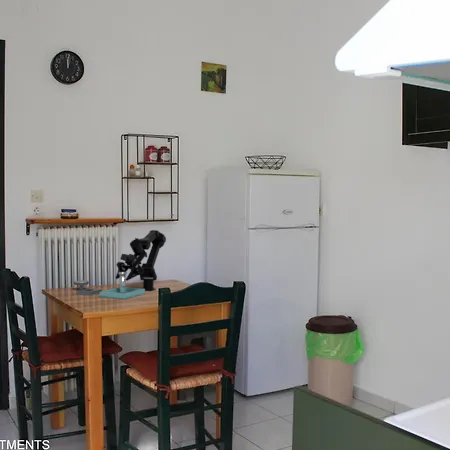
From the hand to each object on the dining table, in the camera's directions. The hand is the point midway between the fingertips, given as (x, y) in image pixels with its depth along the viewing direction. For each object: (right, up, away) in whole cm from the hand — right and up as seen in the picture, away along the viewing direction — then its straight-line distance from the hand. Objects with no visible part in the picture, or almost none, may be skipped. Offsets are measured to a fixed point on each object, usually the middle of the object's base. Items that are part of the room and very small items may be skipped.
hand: (121, 279), depth 314 cm
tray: (+1, -9, +1) cm, 9 cm away
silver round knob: (-27, -8, +22) cm, 36 cm away
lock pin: (+1, -8, +1) cm, 8 cm away
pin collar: (-19, -9, +7) cm, 23 cm away
